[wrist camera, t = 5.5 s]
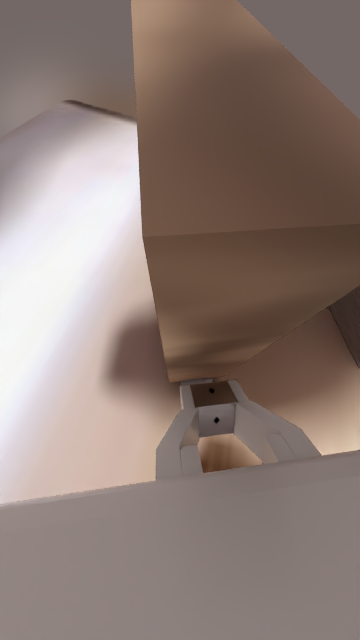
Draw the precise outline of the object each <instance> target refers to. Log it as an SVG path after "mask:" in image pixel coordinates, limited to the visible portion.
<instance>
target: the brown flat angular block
mask: <svg viewBox="0 0 360 640" xmlns="http://www.w3.org/2000/svg"><path fill="white" fill-rule="evenodd" d="M131 8H132V27H133V28H132V29H133V48H134V49H133V50H134V70H135V89H136V90H135V92H136V112H137V133H138V154H139V175H140V196H141V216H142V237H143V243H144V248H145V253H146V259H147V264H148V270H149V275H150V281H151V286H152V292H153V297H154V303H155V308H156V314H157V319H158V324H159V330H160V335H161V341H162V346H163V352H164V357H165V363H166V368H167V374H168V379H169V382H177V381H186V380H195V379H203V378H212V377H220V376H225V375H227V374H228V373H230V372H231V371H233V370H234V369H236V368H237V367H239V366H240V365H241V364H243V363H244V362H246V361H247V360H249V359H250V358H252V357H253V356H255V355H256V354H258V353H259V352H261V351H262V350H264V349H265V348H267V347H268V346H270V345H271V344H273V343H274V342H276V341H277V340H279V339H280V338H282V337H283V336H285V335H286V334H288V333H289V332H291V331H292V330H294V329H295V328H297V327H298V326H300V325H301V324H303V323H304V322H306V321H307V320H309V319H310V318H312V317H313V316H315V315H316V314H318V313H319V312H321V311H322V310H324V309H325V308H327V307H328V306H330V305H331V304H333V303H334V302H336V301H337V300H339V299H340V298H342V297H343V296H345V295H346V294H348V293H349V292H351V291H352V290H354V289H355V288H357V287H358V286H360V119H358V118H357V117H356V116H355V115H354V114H353V113H352V112H351V111H350V110H349V109H348V108H347V107H346V106H345V105H344V104H343V103H342V102H341V101H340V100H339V99H338V98H337V97H336V96H335V95H334V94H333V93H332V92H331V91H329V90H328V89H327V88H326V87H325V86H324V85H323V84H322V83H321V82H320V81H319V80H318V79H317V78H316V77H315V76H314V75H313V74H312V73H311V72H310V71H309V70H308V69H307V68H306V67H305V66H304V65H303V64H302V63H300V62H299V61H298V60H297V59H296V58H295V57H294V56H293V55H292V54H291V53H290V52H289V51H288V50H287V49H286V48H285V47H284V46H283V45H282V44H281V43H280V42H279V41H278V40H277V39H276V38H275V37H274V36H273V35H271V34H270V33H269V32H268V31H267V30H266V29H265V28H264V27H263V26H262V25H261V24H260V23H259V22H258V21H257V20H256V19H255V18H254V17H253V16H252V15H251V14H250V13H249V12H248V11H247V10H246V9H245V8H244V7H243V6H241V5H240V4H239V3H238V2H237V1H236V0H131Z"/></svg>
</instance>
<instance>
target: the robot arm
mask: <svg viewBox="0 0 360 640" xmlns="http://www.w3.org/2000/svg"><path fill="white" fill-rule="evenodd" d="M180 398H181V410H180V411H179V413H178V414H177V416H176V418H175V419H174V421H173V423H172V424H171V426H170V428H169V429H168V431H167V432H166V434H165V436H164V437H163V439H162V441H161V442H160V444H159V446H158V447H157V449H156V481H150V482H143V483H136V484H130V485H123V486H116V487H110V488H103V489H96V490H90V491H83V492H76V493H70V494H63V495H56V496H50V497H43V498H37V499H30V500H23V501H17V502H10V503H3V504H0V640H360V450H356V451H349V452H342V453H336V454H329V455H323V456H322V455H321V454H320V453H319V451H318V450H317V449H316V447H315V446H314V445H313V444H312V442H311V441H310V440H309V439H308V437H307V436H306V435H305V433H304V432H303V431H302V430H301V429H300V428H298V427H296V426H295V425H293V424H291V423H290V422H288V421H286V420H284V419H283V418H281V417H279V416H278V415H276V414H274V413H273V412H271V411H269V410H267V409H266V408H264V407H262V406H261V405H259V404H257V403H255V402H254V401H249V399H248V397H247V396H246V394H245V392H244V391H243V389H242V387H241V386H240V384H239V382H238V381H237V380H236V379H233V380H226V381H220V382H212V383H202V384H191V385H182V386H180ZM229 433H234V434H235V435H236V436H237V437H238V438H239V439H240V440H241V441H242V442H243V443H244V444H245V445H246V446H247V447H248V448H249V449H250V450H251V451H252V452H254V453H255V454H256V455H257V456H258V457H259V458H260V459H261V460H262V461H263V462H262V465H256V466H249V467H243V468H236V469H229V470H223V471H216V472H209V473H203V470H202V465H201V461H200V456H199V451H198V447H197V445H198V442H199V438H201V437H207V436H213V435H220V434H229Z"/></svg>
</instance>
